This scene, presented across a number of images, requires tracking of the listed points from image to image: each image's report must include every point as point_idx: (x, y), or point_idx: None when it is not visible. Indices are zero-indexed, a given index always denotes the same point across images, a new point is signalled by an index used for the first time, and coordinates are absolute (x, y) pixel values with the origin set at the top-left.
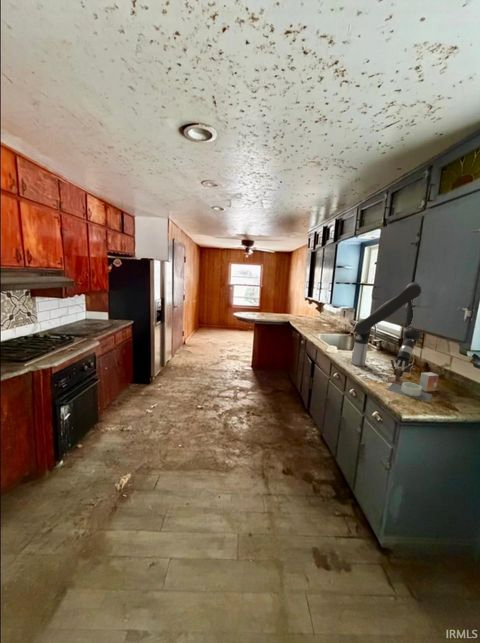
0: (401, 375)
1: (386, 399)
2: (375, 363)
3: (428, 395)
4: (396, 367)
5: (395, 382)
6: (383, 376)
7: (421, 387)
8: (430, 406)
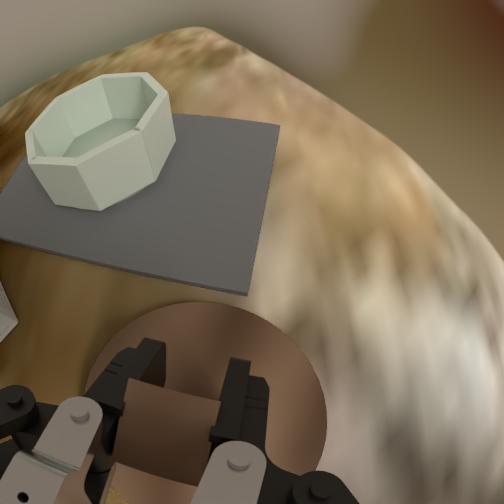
0: (130, 352)
1: (257, 59)
2: None
3: (10, 196)
4: (231, 483)
5: (218, 321)
6: (370, 493)
7: (34, 124)
8: None
